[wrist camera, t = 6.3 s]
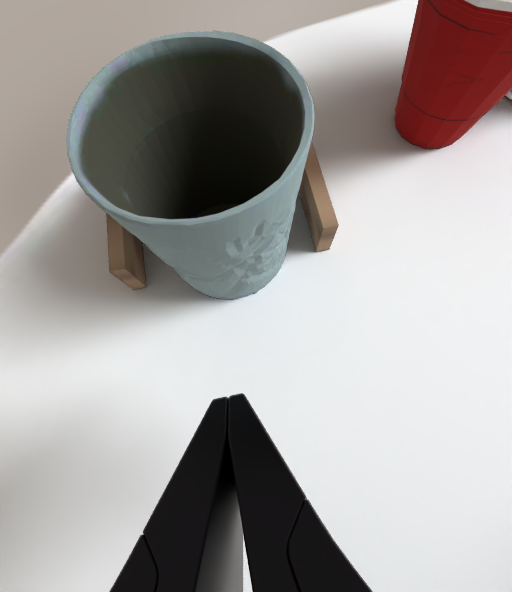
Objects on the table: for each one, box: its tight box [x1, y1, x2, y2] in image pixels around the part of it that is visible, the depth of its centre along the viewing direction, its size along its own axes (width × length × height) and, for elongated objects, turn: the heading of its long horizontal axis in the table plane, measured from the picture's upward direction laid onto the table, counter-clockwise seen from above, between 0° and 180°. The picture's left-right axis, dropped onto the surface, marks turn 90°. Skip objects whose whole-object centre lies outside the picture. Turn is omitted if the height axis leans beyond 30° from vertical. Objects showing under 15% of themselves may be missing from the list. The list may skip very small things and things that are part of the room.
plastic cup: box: [395, 0, 512, 148], centre depth 21 cm, size 11×11×12 cm
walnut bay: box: [106, 141, 338, 289], centre depth 23 cm, size 10×15×4 cm
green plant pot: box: [66, 31, 315, 299], centre depth 18 cm, size 10×10×12 cm
